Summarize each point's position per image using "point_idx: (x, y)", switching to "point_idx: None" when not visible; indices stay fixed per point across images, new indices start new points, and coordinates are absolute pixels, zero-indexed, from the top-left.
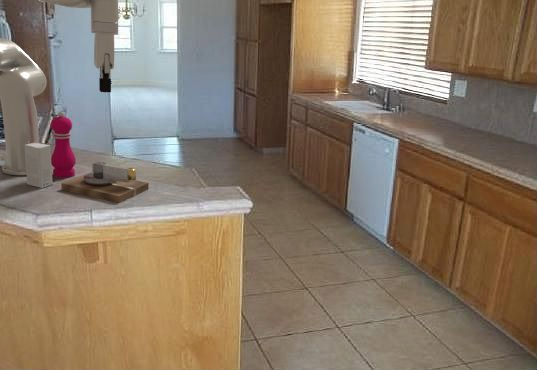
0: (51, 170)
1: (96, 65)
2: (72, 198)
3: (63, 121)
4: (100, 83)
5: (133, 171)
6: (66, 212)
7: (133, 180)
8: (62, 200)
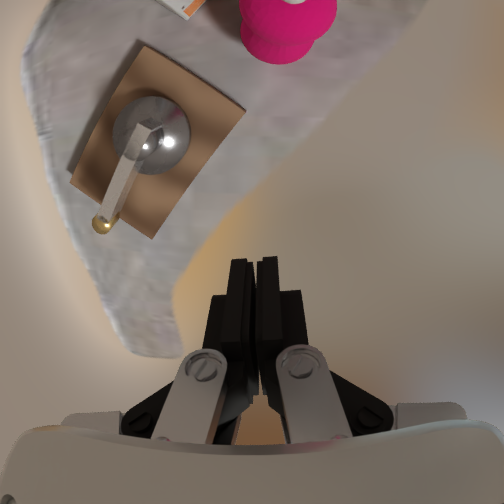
0: (176, 12)
1: (39, 451)
2: (94, 83)
3: (248, 6)
4: (224, 308)
5: (94, 227)
6: (33, 94)
7: (166, 209)
8: (84, 67)
